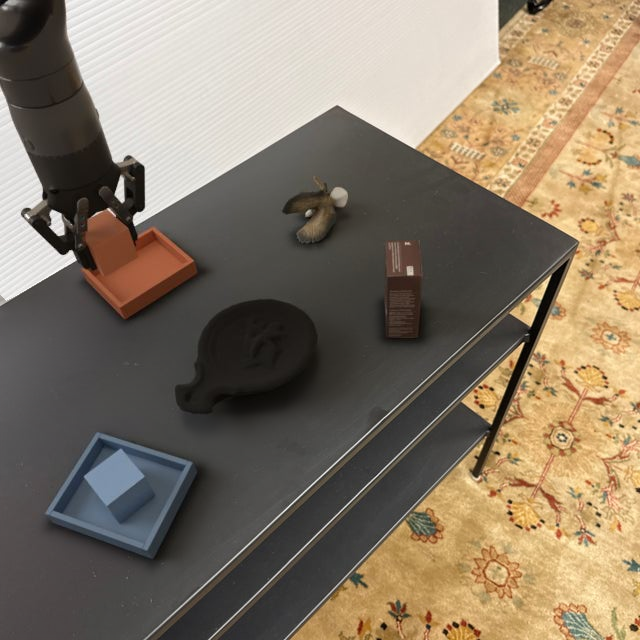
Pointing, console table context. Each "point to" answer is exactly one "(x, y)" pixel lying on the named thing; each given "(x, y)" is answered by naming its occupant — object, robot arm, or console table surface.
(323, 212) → the eagle figurine
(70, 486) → the blue tray
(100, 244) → the terracotta block
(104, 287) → the terracotta tray
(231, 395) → the oil lamp
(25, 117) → the robot arm
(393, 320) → the box
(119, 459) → the blue block
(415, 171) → the console table surface
